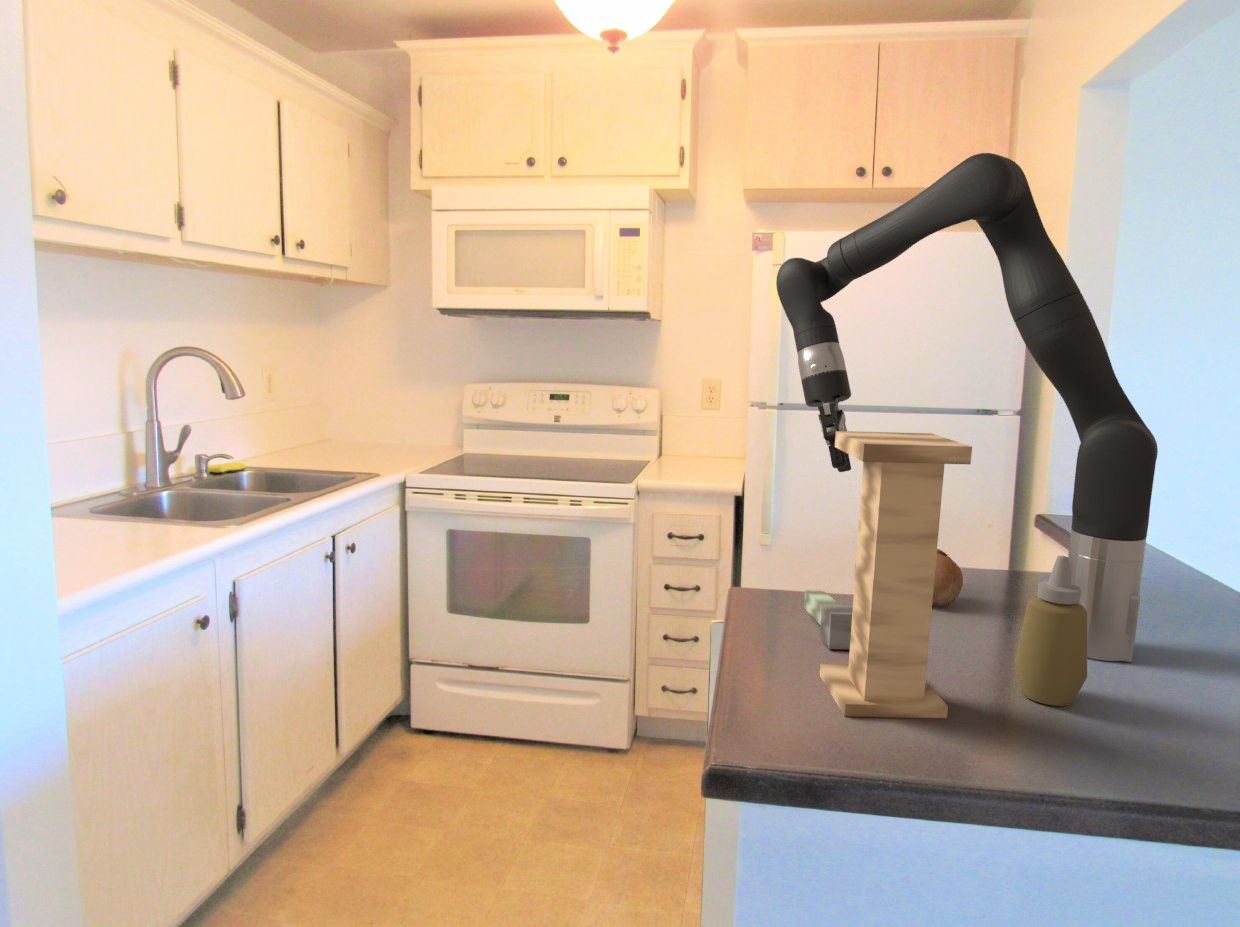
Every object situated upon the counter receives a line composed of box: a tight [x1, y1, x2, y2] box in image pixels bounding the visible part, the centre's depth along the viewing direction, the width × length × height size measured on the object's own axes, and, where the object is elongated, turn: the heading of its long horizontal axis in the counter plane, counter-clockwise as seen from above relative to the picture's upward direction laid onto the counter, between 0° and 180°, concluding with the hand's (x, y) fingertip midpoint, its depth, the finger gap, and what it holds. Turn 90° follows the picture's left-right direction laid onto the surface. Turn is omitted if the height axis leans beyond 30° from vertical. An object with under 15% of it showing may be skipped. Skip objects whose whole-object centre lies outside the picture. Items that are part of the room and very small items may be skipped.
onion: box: [932, 548, 964, 607], centre depth 140 cm, size 10×9×10 cm
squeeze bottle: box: [1014, 555, 1088, 707], centre depth 104 cm, size 8×8×18 cm
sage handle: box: [803, 589, 853, 650], centre depth 127 cm, size 18×5×5 cm, turn 2°
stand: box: [819, 430, 973, 719], centre depth 102 cm, size 12×12×32 cm
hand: (842, 469), depth 139 cm, fingers open, 8 cm apart
